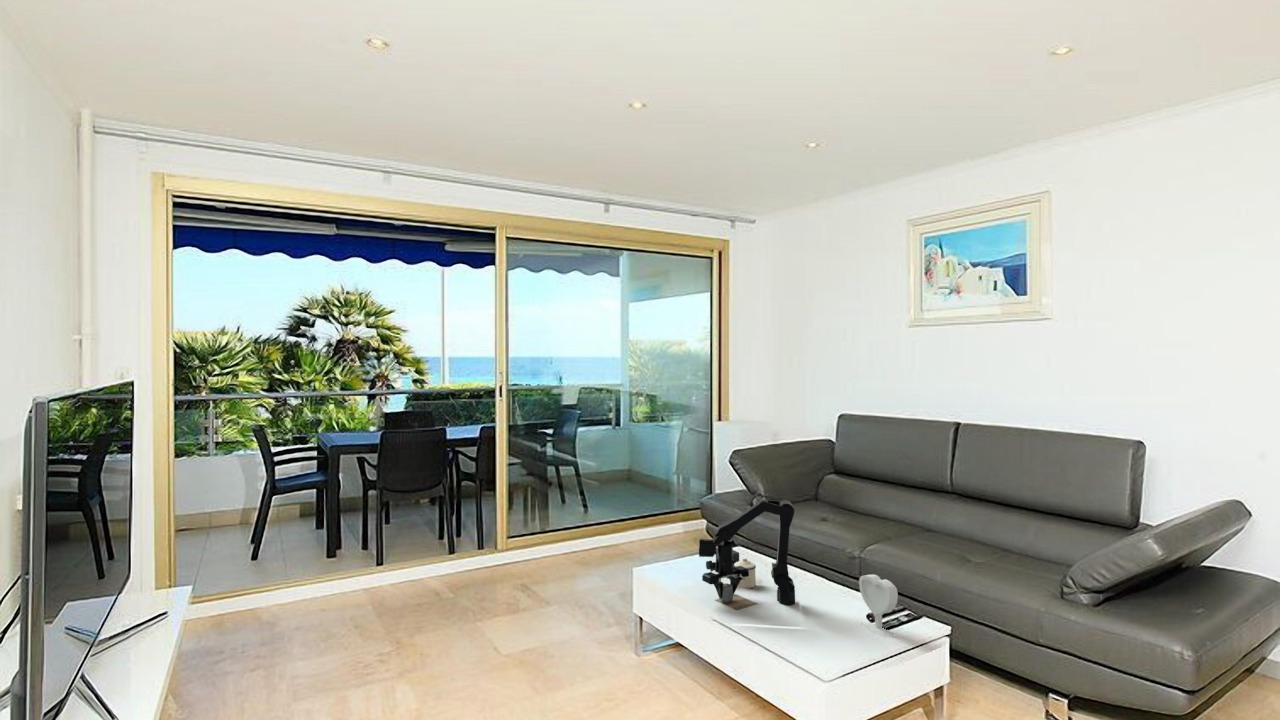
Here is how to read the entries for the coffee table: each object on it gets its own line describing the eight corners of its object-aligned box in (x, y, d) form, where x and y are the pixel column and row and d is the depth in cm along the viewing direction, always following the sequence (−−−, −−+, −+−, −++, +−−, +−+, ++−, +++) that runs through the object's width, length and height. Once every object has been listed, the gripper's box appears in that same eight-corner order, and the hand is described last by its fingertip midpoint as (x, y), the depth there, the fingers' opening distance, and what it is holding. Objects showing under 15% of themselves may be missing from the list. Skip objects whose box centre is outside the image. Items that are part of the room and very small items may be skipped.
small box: (715, 571, 304) (714, 548, 304) (727, 569, 307) (727, 546, 307) (727, 578, 294) (727, 554, 294) (740, 576, 297) (740, 552, 297)
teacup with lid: (747, 581, 291) (747, 554, 290) (760, 587, 282) (760, 559, 282) (724, 585, 285) (723, 558, 285) (736, 592, 277) (735, 564, 277)
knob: (726, 594, 269) (726, 581, 269) (735, 598, 265) (735, 584, 265) (716, 597, 266) (716, 584, 266) (725, 601, 262) (725, 587, 262)
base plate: (758, 605, 262) (758, 595, 262) (737, 612, 256) (736, 602, 256) (735, 596, 273) (735, 586, 273) (714, 602, 267) (714, 592, 267)
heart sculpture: (858, 622, 244) (857, 572, 244) (869, 620, 246) (868, 570, 246) (888, 639, 230) (887, 586, 229) (900, 636, 231) (899, 584, 231)
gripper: (732, 548, 277) (733, 586, 277) (693, 555, 268) (694, 595, 268) (749, 554, 267) (750, 594, 268) (710, 562, 258) (711, 604, 259)
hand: (726, 596), depth 266 cm, fingers closed on knob, 5 cm apart
